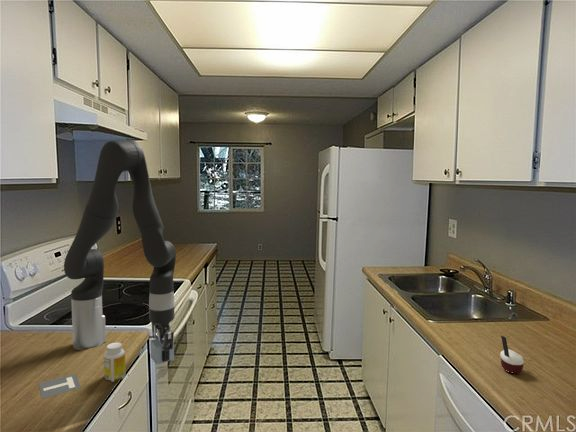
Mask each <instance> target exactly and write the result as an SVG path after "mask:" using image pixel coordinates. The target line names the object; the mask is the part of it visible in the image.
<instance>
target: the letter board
mask: <svg viewBox="0 0 576 432" xmlns="http://www.w3.org/2000/svg"><path fill="white" fill-rule="evenodd" d="M38 384H39V391H40V395H41V399H43V400H44V399H46V398H50V397H53V396H54V397H55V396H57V395H61V394H64V393H68V392H71V391H72V392H73V391H75V390H78V389H81V388H82V387H81V384H80V381H79V379H78V376H77V374H76V373H72V374H68V375H65V376H62V377H57V378H54V379H49V380H46V381H42V382H39V383H38Z"/></svg>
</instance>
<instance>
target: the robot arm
mask: <svg viewBox="0 0 576 432" xmlns="http://www.w3.org/2000/svg"><path fill="white" fill-rule="evenodd" d="M124 172H128V175H129V176H130V179H131V183H132V189H133V193H132V195H133V196H132V213H133V216H134V220H135V222H136V226H137V228H138V230H139V233H140V235H141V244H142V248H143V249H142V250H143V253H144V256H145V259H146V261H147V262H148V263H149V265H150V266H152V267H153V268H152V269H153V271H152V273H151V275H150V277H149V298H148V314H149V315H148V320H149V322H150V323H151V331H152V332H151V333H152V336H151V337H152V340H157V339H159V343H161V349H162V361H163V363H166V362H165V361H167V362H169V359H170V349H173V342H174V338H175V337H174V331H171V326H170V323H171V322H172V321H174V319H175V293H174V291H175V290H174V273H175V267H176V258H177V252H176V248H175V246H174V244H173V243H172V242H170V241H169V240H165V239H164V236H163V232H164V229H165V227H164V223H163V221H162V218H161V216H160V213H159V209H158V207H157V205H156V201H155V197H154V194H153V190H152V183H151V180H150V175H149V170H148V165H147V160H146V156H145V152H144V150H143V147H142V146H141V144H139V142H137V141H135V140H131V139H118V140H117V139H116V140H110V141H107V142H106V143H104V145H103V146H102V148H101V150H100V153H99V157H98V161H97V167H96V171H95V176H94V180H93V183H92V186H91V189H90V193H89V197H88V200H87V202H86V204H85V207H84V210H83V214H82V217H81V220H80V224H79V225H78V229H77V231H76V234H75V237H74V238H73V241H72V243H71V245H70V247H69V249H68V251H67V254H66V255H65V258H64V262H63V270H64V271H63V272H64V274H65V276H66V278H68V279H70V280H81V279H83V281H81V283H79V284H78V285H77V286H75V287H74V288H72V290H71V293H70V295H71V296H70V298H71V321H72V324H71V325H72V345H73V346H72V347H73V349H74V350H76V351H83V350H87V349H92V348H97V347H101V346H102V345H103V344H104V343H105V342H107V340H106V339H107V338H106V337H107V335H106V334H107V333H106V315H104V314H103V289H104V277H105V276H104V272H105V262H104V257H103V254H102V252H101V251H100V250H98V249H97V248H93V247H94V246H95V245H96V244H97V243H98V242H99V241H100V240H101V239H102V238H103V237H105V235H106V234H108V233H109V231H110V230H111V229H112V228H113V226H114V223H115V220H116V219H117V216H118V212H119V201H118V196H117V194H116V189H117V188H116V187H117V184H118V182H119V179H120V176H121V175H122V173H124ZM162 338H164V340H162ZM167 344H168V345H167Z"/></svg>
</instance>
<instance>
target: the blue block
mask: <svg viewBox="0 0 576 432" xmlns="http://www.w3.org/2000/svg"><path fill="white" fill-rule="evenodd" d="M162 340H164V338H162ZM167 345H168V344H167ZM150 358H151V360H152V361H153V362H154V363H155V365H159V364H162V363H166V362H169V361H173V360H175V343H174V341H173V349H170V359H169V361H165V362H163V361H162V349H161V343H159V339H157V340H154V339H151V340H150Z"/></svg>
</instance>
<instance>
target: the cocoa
mask: <svg viewBox="0 0 576 432" xmlns="http://www.w3.org/2000/svg"><path fill="white" fill-rule="evenodd" d="M501 342H502V348H503V350H501V351H500V362H501V368H502V367H503V368H504V369H505V370H507V371H509V372H513V373H518V374H519V373H522V372H523V368H524V363H525V360H524V357H523V355H521V354H519V353H517V352H516V351H514V350H512V349H509V348H508V342H507V338H506V336H503V335H501ZM503 368H502V369H503ZM504 369H503V370H504ZM505 370H504V371H505Z"/></svg>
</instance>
